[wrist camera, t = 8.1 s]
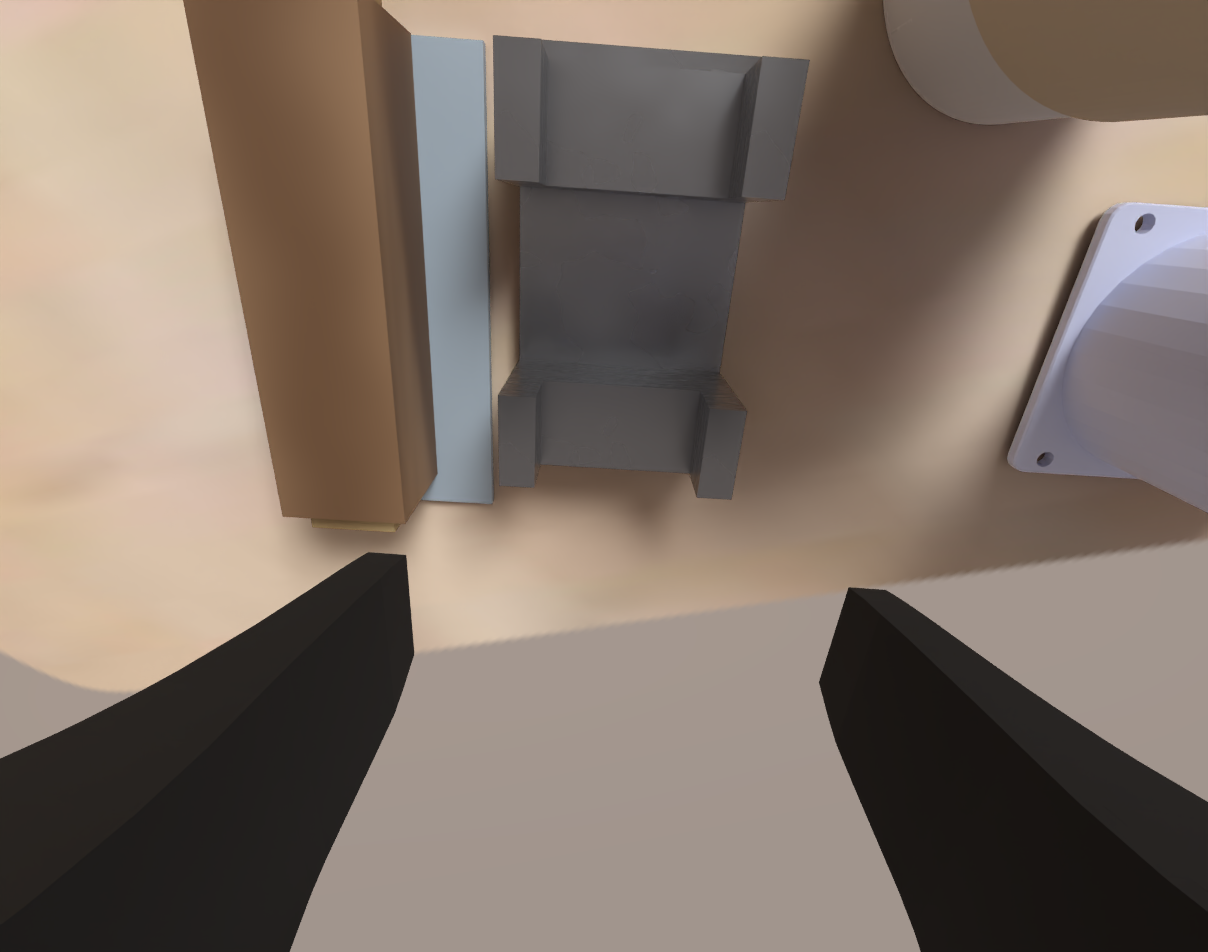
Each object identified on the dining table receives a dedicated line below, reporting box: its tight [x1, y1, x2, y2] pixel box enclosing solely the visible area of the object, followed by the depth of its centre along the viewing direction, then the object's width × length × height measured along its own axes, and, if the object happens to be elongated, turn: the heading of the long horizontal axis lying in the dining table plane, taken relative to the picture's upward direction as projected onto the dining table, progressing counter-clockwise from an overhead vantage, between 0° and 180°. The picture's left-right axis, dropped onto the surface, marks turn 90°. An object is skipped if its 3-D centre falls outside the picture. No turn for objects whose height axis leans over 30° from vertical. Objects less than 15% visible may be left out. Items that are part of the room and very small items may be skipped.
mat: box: [411, 35, 494, 504], centre depth 17 cm, size 7×13×1 cm, turn 176°
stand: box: [493, 35, 810, 500], centre depth 15 cm, size 6×11×4 cm, turn 176°
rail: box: [183, 0, 438, 532], centre depth 15 cm, size 3×13×3 cm, turn 176°
